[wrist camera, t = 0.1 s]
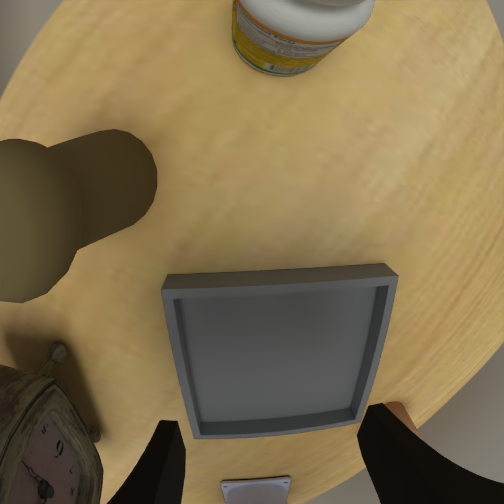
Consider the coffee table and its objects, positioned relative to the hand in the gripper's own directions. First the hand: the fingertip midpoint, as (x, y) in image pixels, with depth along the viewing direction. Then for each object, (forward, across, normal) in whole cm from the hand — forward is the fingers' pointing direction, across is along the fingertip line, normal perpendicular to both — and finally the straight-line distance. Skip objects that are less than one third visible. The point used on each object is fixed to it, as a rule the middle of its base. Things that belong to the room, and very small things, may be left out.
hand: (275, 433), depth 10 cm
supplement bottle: (+10, -1, -16) cm, 19 cm away
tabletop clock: (+10, +18, +9) cm, 23 cm away
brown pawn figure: (+10, +8, -8) cm, 16 cm away
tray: (+10, -2, +5) cm, 11 cm away
